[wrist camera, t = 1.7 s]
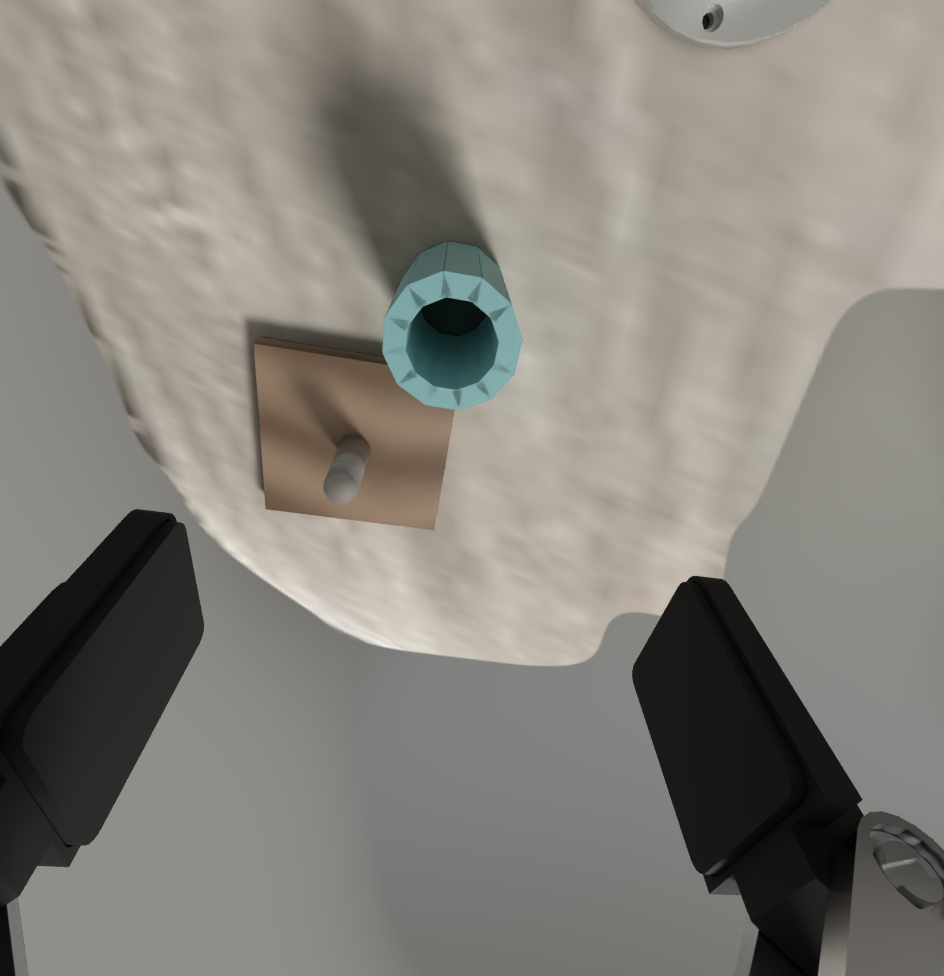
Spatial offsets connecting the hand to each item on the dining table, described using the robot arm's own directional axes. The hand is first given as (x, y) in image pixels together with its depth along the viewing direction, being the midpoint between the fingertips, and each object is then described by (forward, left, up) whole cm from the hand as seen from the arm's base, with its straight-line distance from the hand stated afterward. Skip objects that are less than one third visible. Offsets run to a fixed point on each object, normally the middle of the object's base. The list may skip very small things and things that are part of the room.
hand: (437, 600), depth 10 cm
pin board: (+10, -5, -23) cm, 25 cm away
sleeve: (0, 0, -23) cm, 23 cm away
